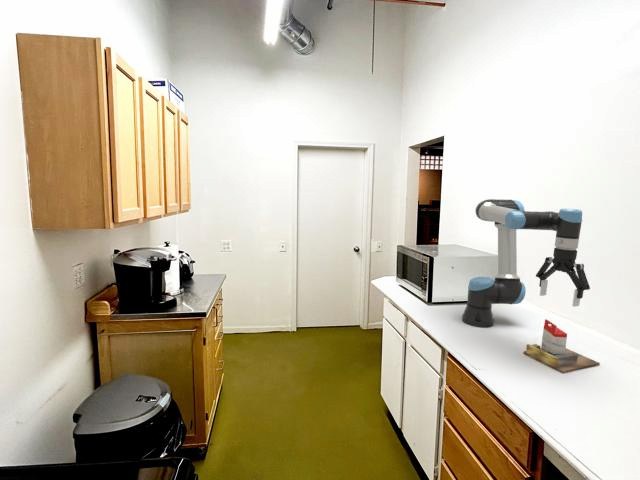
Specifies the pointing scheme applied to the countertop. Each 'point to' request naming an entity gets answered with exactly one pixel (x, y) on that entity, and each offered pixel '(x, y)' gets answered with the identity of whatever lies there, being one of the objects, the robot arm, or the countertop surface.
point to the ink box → (553, 339)
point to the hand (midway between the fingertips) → (558, 300)
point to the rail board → (572, 367)
